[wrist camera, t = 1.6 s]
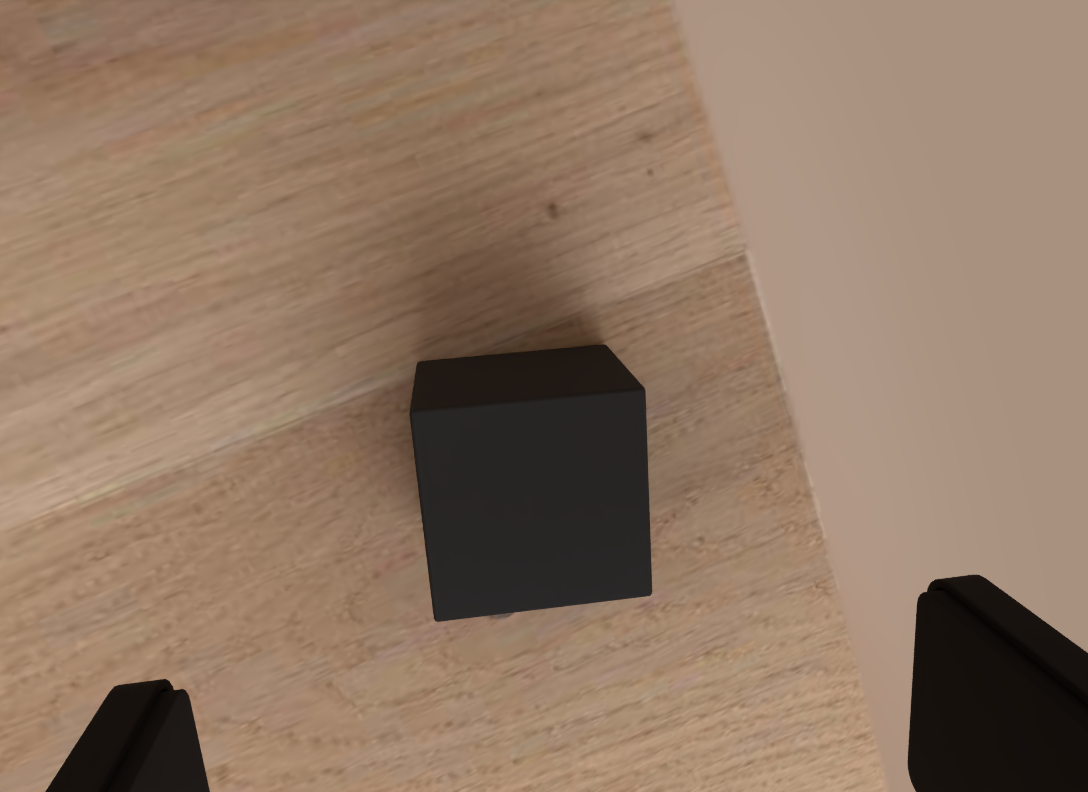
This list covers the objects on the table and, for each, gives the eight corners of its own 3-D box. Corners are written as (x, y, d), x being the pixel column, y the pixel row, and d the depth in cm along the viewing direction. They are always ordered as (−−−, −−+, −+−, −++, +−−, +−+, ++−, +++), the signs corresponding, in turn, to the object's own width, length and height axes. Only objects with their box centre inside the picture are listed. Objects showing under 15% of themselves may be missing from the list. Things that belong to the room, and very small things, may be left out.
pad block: (416, 361, 19) (408, 410, 15) (606, 343, 19) (646, 387, 15) (436, 536, 20) (434, 623, 16) (615, 517, 21) (653, 596, 17)
